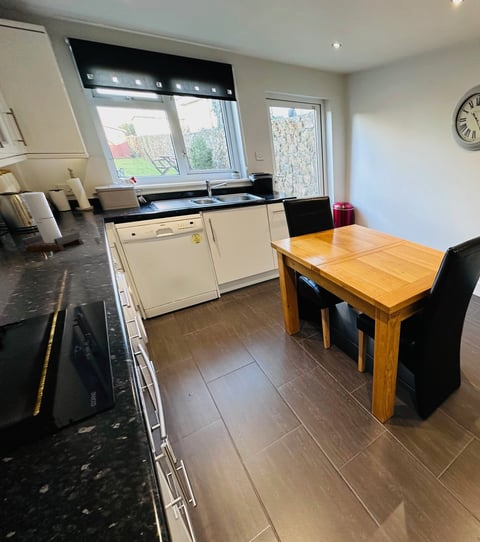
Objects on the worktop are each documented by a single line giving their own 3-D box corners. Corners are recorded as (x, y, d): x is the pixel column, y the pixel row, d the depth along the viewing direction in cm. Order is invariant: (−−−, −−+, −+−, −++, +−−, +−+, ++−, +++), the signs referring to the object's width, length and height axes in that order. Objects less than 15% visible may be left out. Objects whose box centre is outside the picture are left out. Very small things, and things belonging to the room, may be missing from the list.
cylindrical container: (61, 241, 150) (40, 193, 140) (42, 243, 146) (20, 194, 136) (64, 238, 155) (45, 191, 145) (46, 240, 151) (25, 192, 141)
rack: (27, 252, 145) (21, 239, 142) (52, 244, 158) (47, 232, 155) (61, 252, 146) (56, 239, 144) (83, 243, 159) (78, 231, 156)
